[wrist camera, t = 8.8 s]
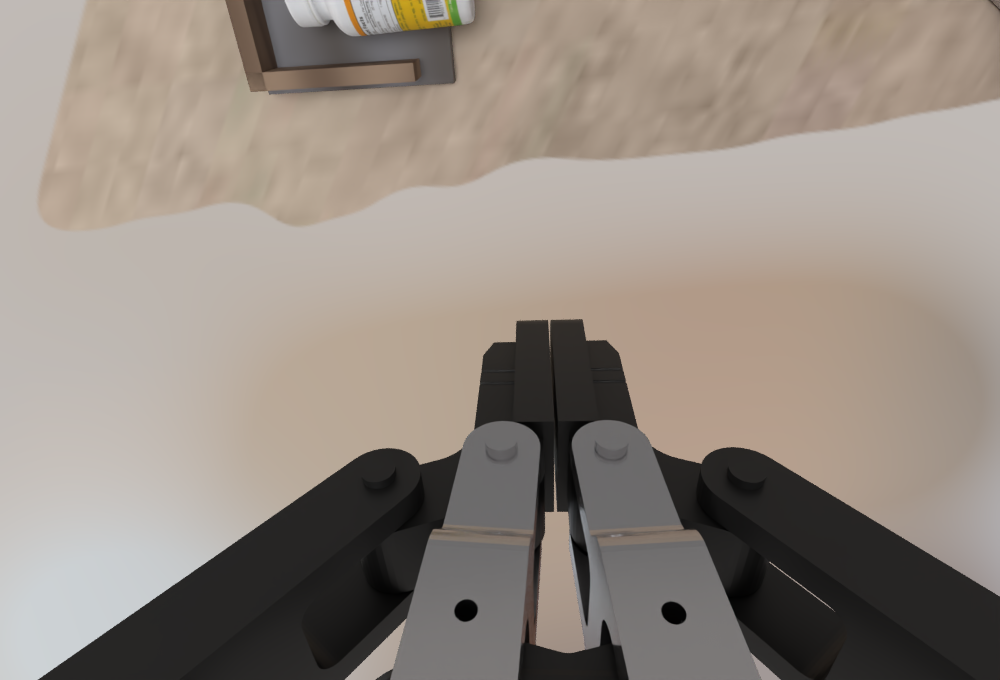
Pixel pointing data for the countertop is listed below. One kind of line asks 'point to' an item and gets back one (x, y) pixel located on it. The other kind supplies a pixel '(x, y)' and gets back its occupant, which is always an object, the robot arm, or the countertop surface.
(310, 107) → the countertop surface
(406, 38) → the u rest
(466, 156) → the countertop surface
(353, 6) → the supplement bottle
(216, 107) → the countertop surface
